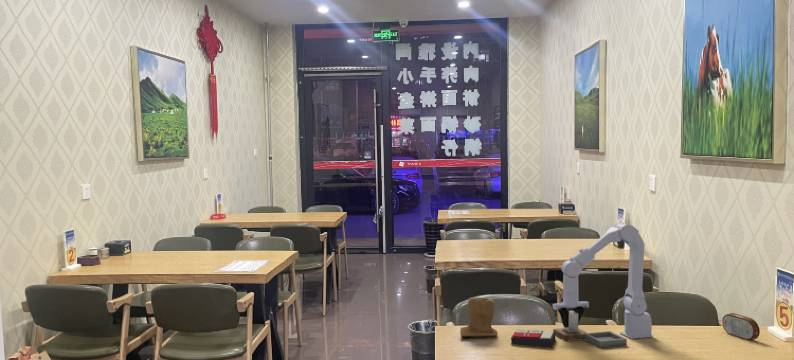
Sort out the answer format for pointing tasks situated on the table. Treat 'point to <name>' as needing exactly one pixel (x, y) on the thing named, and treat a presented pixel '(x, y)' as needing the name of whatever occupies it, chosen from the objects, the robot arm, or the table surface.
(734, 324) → the oval speaker
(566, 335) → the brown square frame
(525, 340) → the red black box
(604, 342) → the tray
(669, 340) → the table surface
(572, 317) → the lock pin
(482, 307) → the brown wooden stand
